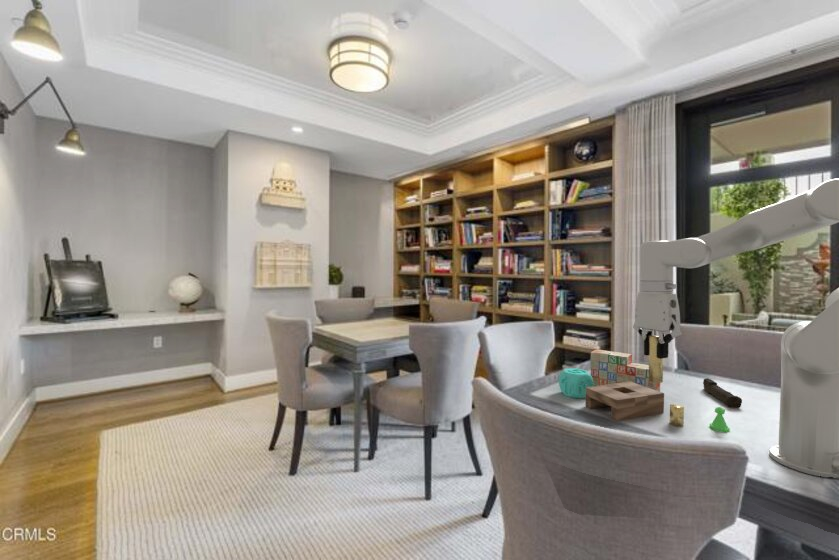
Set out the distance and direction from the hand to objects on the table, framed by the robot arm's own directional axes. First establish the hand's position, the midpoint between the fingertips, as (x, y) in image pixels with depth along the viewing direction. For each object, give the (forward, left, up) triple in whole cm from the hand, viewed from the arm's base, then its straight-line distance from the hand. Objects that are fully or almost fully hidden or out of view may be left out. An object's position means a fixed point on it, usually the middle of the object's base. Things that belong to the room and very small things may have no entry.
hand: (655, 355), depth 103 cm
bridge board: (+13, -4, -20) cm, 24 cm away
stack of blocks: (+29, -20, -20) cm, 40 cm away
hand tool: (+11, -41, -20) cm, 47 cm away
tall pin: (0, 0, -7) cm, 7 cm away
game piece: (-6, -17, -20) cm, 27 cm away
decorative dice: (+29, 0, -20) cm, 36 cm away
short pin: (0, -9, -20) cm, 22 cm away
